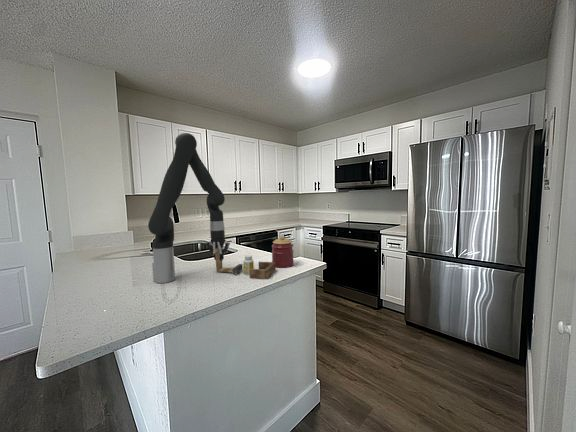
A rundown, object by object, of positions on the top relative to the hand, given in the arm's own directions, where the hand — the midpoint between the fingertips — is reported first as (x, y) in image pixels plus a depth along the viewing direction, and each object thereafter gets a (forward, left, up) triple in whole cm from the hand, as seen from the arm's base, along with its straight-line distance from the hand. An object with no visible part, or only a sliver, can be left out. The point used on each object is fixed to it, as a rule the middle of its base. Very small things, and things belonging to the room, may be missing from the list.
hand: (219, 259), depth 136 cm
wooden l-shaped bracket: (+5, 0, -6) cm, 8 cm away
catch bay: (+26, 0, -7) cm, 26 cm away
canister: (+32, +18, -7) cm, 37 cm away
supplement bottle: (+17, 0, -7) cm, 19 cm away
